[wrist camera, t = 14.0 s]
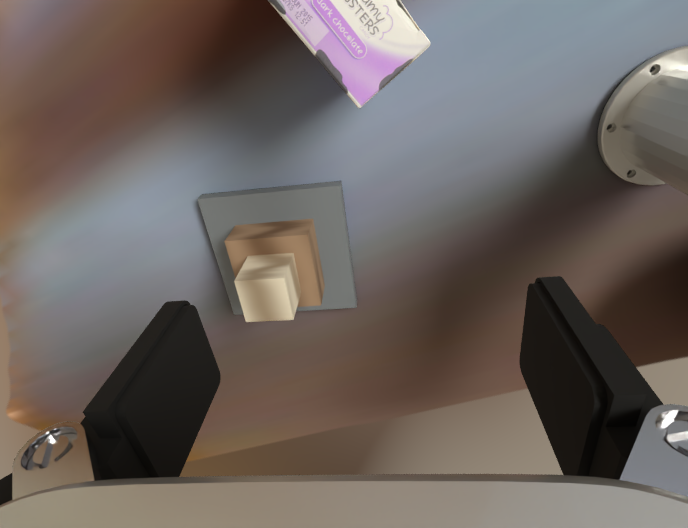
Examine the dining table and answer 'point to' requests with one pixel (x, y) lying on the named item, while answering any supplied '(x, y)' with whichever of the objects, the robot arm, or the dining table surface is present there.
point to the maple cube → (268, 287)
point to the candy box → (356, 40)
